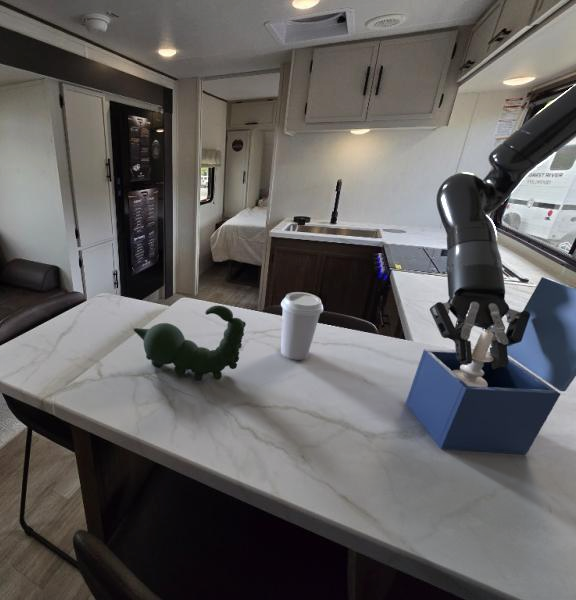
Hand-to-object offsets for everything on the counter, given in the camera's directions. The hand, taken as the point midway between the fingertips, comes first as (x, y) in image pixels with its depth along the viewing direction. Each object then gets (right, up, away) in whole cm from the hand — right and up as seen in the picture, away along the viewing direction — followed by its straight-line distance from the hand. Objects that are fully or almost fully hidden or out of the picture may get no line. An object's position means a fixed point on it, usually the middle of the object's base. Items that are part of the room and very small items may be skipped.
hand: (482, 365), depth 56 cm
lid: (+9, +6, -1) cm, 11 cm away
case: (+3, -13, +7) cm, 15 cm away
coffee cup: (-20, -3, +31) cm, 37 cm away
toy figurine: (-48, -6, +24) cm, 54 cm away
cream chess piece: (+1, -4, +4) cm, 5 cm away
